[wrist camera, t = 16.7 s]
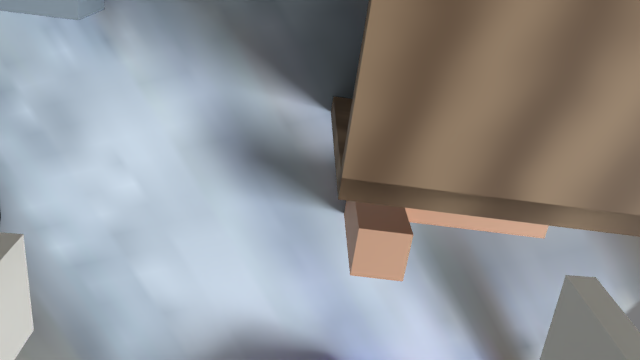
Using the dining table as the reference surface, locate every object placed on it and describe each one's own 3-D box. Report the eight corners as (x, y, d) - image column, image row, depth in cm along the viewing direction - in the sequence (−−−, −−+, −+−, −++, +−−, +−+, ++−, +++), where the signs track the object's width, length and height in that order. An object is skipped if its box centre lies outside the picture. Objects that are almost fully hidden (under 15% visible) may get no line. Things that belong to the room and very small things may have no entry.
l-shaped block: (344, 213, 48) (350, 275, 40) (351, 173, 47) (359, 228, 38) (533, 236, 49) (578, 301, 41) (546, 197, 48) (594, 256, 39)
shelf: (331, 111, 45) (338, 199, 31) (372, -158, 38) (405, -201, 24) (566, 143, 46) (675, 241, 32) (649, -114, 39) (833, -130, 25)
